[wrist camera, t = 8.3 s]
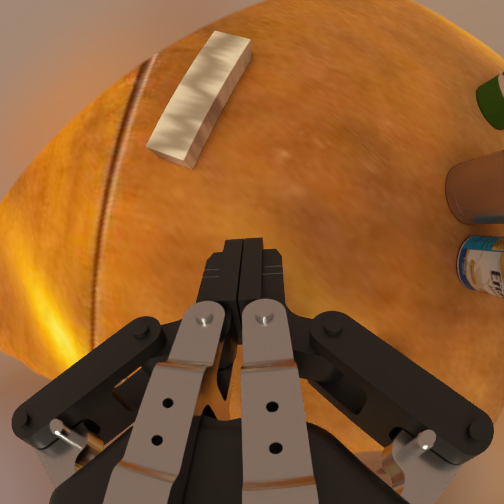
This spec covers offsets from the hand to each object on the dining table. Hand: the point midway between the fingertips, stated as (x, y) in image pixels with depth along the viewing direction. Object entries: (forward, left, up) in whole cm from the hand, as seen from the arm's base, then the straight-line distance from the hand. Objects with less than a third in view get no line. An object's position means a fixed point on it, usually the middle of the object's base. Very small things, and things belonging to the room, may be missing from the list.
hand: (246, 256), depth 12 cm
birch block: (+5, -13, -20) cm, 24 cm away
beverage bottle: (-29, +17, -22) cm, 41 cm away
